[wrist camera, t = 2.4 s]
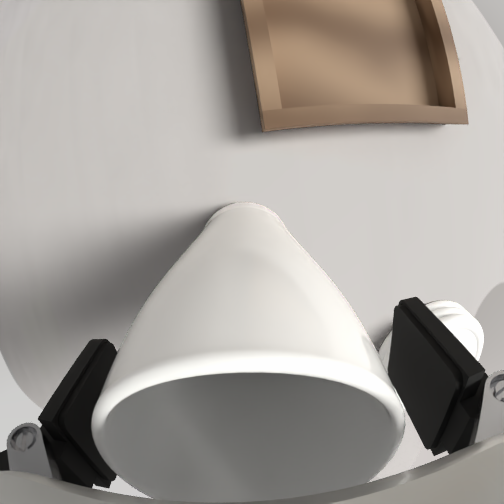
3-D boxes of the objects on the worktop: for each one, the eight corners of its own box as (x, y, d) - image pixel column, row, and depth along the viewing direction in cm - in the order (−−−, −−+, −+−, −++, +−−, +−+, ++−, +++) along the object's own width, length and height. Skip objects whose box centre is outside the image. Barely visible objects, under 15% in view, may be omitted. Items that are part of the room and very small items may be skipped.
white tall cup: (170, 224, 18) (29, 411, 4) (265, 167, 17) (354, 264, 3) (227, 307, 21) (211, 529, 6) (316, 260, 20) (425, 465, 5)
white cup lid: (393, 402, 25) (405, 427, 22) (355, 347, 22) (369, 375, 19) (472, 344, 23) (490, 364, 20) (453, 274, 21) (477, 294, 17)
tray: (231, -42, 12) (230, -62, 10) (408, -32, 12) (423, -44, 10) (262, 132, 17) (265, 129, 14) (446, 124, 16) (468, 124, 14)
